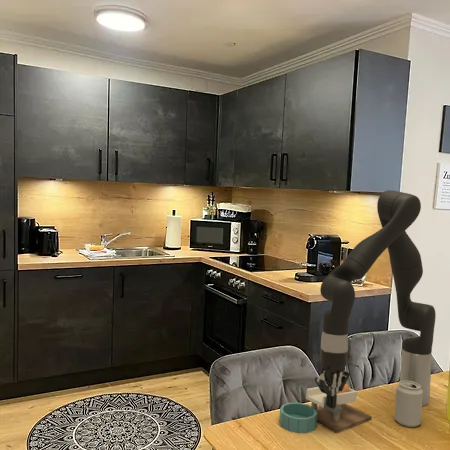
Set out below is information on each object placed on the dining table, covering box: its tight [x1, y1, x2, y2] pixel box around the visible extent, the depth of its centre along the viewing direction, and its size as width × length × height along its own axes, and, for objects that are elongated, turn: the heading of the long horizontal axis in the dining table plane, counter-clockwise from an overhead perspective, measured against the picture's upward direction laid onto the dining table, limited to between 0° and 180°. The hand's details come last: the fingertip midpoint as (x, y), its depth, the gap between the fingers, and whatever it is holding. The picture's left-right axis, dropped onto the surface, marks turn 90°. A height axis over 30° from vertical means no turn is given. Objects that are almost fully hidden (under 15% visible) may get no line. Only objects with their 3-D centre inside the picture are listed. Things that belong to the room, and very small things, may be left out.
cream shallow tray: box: [305, 386, 358, 413], centre depth 140 cm, size 15×11×3 cm
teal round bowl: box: [278, 402, 318, 434], centre depth 136 cm, size 11×11×4 cm
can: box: [394, 380, 423, 428], centre depth 139 cm, size 8×8×12 cm
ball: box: [338, 383, 350, 394], centre depth 144 cm, size 4×4×4 cm
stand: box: [310, 402, 373, 434], centre depth 141 cm, size 16×14×6 cm
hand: (331, 406), depth 133 cm, fingers closed
